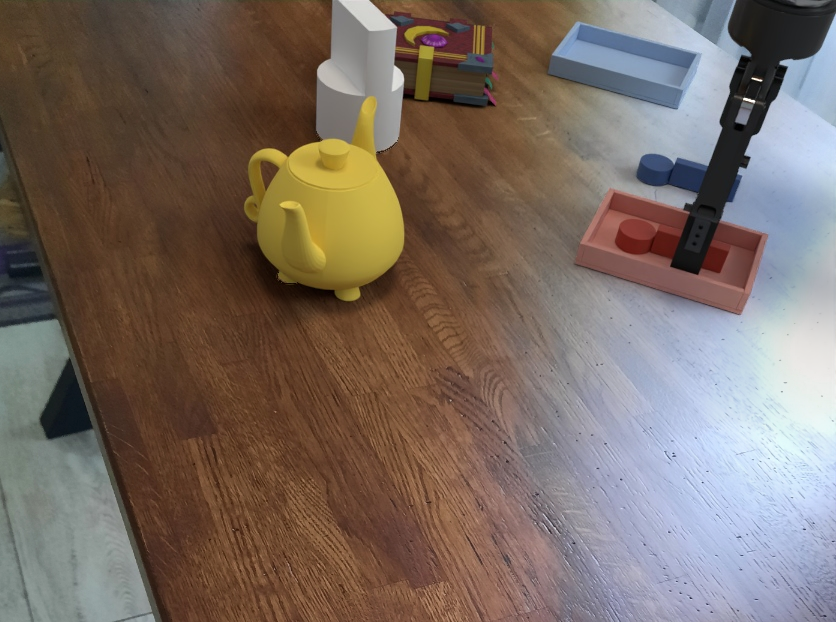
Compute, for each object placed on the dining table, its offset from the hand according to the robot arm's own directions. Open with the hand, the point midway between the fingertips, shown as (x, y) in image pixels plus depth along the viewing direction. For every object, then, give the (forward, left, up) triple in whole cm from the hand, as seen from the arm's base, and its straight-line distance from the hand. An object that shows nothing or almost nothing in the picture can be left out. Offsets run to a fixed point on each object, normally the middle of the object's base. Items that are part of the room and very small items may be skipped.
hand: (691, 253), depth 89 cm
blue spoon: (+3, -14, -1) cm, 15 cm away
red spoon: (+2, 0, -1) cm, 2 cm away
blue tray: (+16, -37, -1) cm, 40 cm away
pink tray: (+2, 0, -1) cm, 2 cm away
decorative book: (+36, -22, -1) cm, 42 cm away
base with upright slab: (+38, -6, -1) cm, 38 cm away
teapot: (+31, +18, -1) cm, 36 cm away
